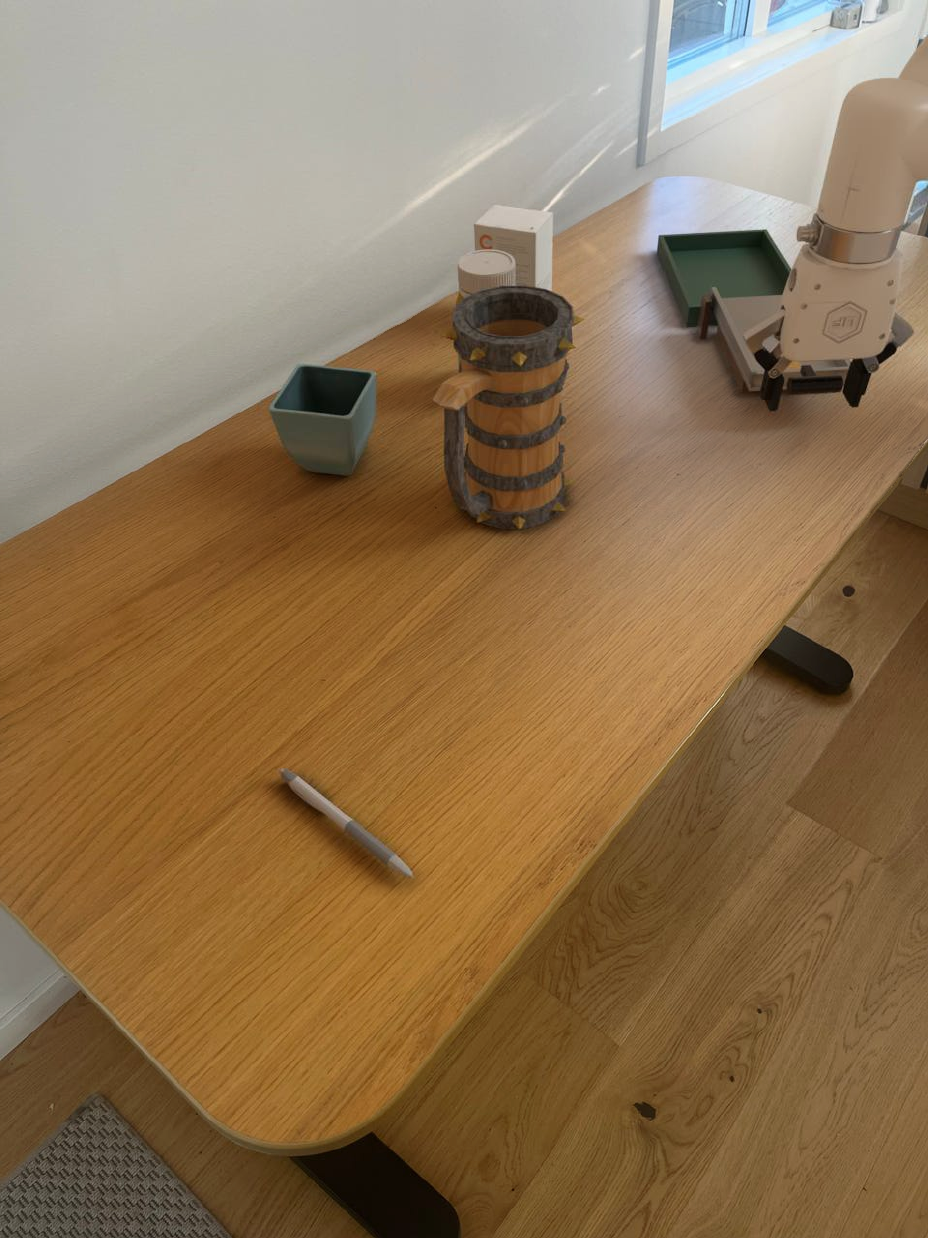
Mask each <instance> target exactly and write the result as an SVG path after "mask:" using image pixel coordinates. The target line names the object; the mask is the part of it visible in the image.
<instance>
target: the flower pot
mask: <svg viewBox="0 0 928 1238" xmlns="http://www.w3.org/2000/svg"><path fill="white" fill-rule="evenodd" d="M268 411H269V413H270V417H271V419H272V422H273V425H274V427H275V430H276V432H277V435H278V437H279V440H280V442H281V444H282V447H283V448H284V449H285V451H286V453H287V454H288V455H289V457H290V458H291V459H292V460H293V461H294V462H295V463H296V464H297V465H298V466H300V467H301V468H303V469H304V470H305V471H307V472H311V473H321V474H330V475H338V476H345V477H347V476H350V475H352V474H353V472H354V470H355V468H356V466H357V465H358V462H359V460H360V458H361V457H362V454H363V453H364V451H365V449H366V446H367V444H368V442H369V440H370V437H371V435H372V433H373V430H374V429H373V428H374V426H375V420H376V416H377V415H376V413H377V372H376V371H374V370H369V369H359V368H357V369H356V368H346V367H337V366H336V367H335V366H326V365H317V364H308V363H298V364H297V365H296V366H294V368H293V370H292V371H291V373H290V375H289V377H288V378H287V379H286V381H285V383H284V384H283V385H282V386H281V388H280V390H279V391H278V392H277V395H276V396H275V398H273V400H272V402H271V403H270V405H268Z"/></svg>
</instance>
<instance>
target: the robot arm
mask: <svg viewBox="0 0 928 1238" xmlns="http://www.w3.org/2000/svg"><path fill="white" fill-rule="evenodd" d="M923 181H924V182H928V33H926V35H925V37H924V38H923V39H922V41H921V42H920V44H919V45H918V46H917V47H916V49H915V51H914V52H913V53H912V54H911V56H910V57H909V59H908V61H907V62H906V64H905V65H904V67H903V68H902V70H901V71H900V73H899V75H898V77H880V78H879V77H878V78H873V79H868V80H865V81H861V82H859V83H857V84H856V85H854V86H853V87H852V88H851V89H849V91H848V92H847V93H846V95H845V96H844V98H843V100H842V103H841V107H840V110H839V114H838V119H837V123H836V127H835V132H834V136H833V140H832V144H831V149H830V153H829V157H828V161H827V166H826V170H825V174H824V178H823V182H822V186H821V191H820V196H819V199H818V203H817V208H816V212H814V213H813V215H812V220H811V222H810V223H807V224H806V225H799V226H798V228H797V229H796V241H797V242H798V243H799V242H800V243H801V242H805V243H804V244H802V246H801V248H800V250H799V252H798V254H797V256H796V258H795V261H794V263H793V265H792V267H791V272H790V275H789V277H788V280H787V283H786V285H785V288H784V291H783V295H782V298H781V301H780V304H779V308H778V311H777V312H776V313H775V314H773V315H772V316H770V317H768V318H767V319H765V320H764V321H762V322H760V323H759V324H757V325H756V326H754V327H752V328H751V329H749V330H747V331H746V332H745V333H744V334H743V339H744V341H745V343H746V345H747V346H748V348H749V350H750V351H751V353H752V354H753V356H754V358H755V360H756V361H757V362H758V363H759V365H760V366H761V367H762V368H763V369H764V370H765V371H764V376H763V380H762V385H761V389H760V393H759V396H760V399H761V401H764V403H765V405H766V407H767V409H768V411H769V412H770V413H775V412H777V411H778V409H779V405H780V401H781V397H782V394H783V391H782V389H783V385H784V377H783V375H782V372H783V371H784V370H785V369H786V368H787V367H788V366H789V365H790V363H791V362H792V361H797V362H806V361H829V360H847V359H850V361H851V360H852V361H851V363H850V366H849V369H848V373H847V376H846V379H845V383H844V386H843V387H842V390H841V393H842V396H843V397H844V399H845V400H846V402H847V403H848V406H849V407H851V408H853V409H855V408H859V406H860V403H861V401H862V400H861V399H862V396H865V394H866V392H867V389H868V386H869V382H870V381H871V376H872V374H874V373H876V372H877V371H879V370H880V365H882V364H883V363H884V362H886V361H887V360H889V358H891V357H892V356H894V355H896V352H897V350H898V348H899V347H900V348H901V347H902V345H904V344H905V343H906V342H907V341H908V340H909V339H911V337H912V336H913V335H914V333H915V329H914V328H913V327H912V325H911V324H910V323H909V322H908V321H907V320H906V319H905V318H903V317H902V316H900V315H899V314H898V313H897V312H896V309H897V305H898V299H899V294H900V287H901V281H902V271H903V263H904V262H903V260H904V254H903V252H902V251H901V250H900V249H898V248H897V246H898V243H899V241H900V237H901V233H902V230H903V227H904V223H905V220H906V216H907V214H908V210H909V206H910V203H911V201H912V197H913V195H914V190H915V187H916V184H917V183H918V182H923ZM771 335H774V338H775V339H777V340H778V341H777V342H776V343H775V344H774V345H773V347H772V348H771V349H770V350H769V351H768V350H767V349H766V348H765V347H764V346H763V345H762V342H763V341H764V340H765V339H767V338H768V337H770V336H771Z"/></svg>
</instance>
